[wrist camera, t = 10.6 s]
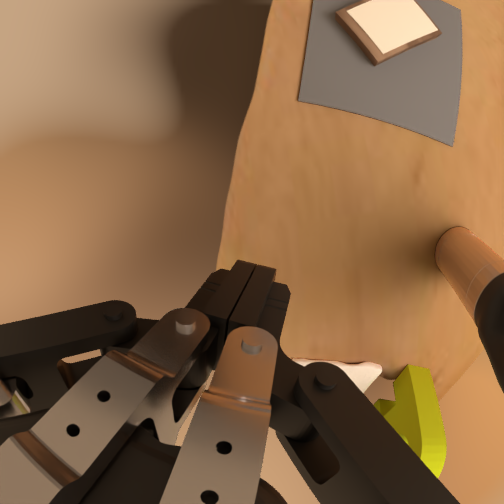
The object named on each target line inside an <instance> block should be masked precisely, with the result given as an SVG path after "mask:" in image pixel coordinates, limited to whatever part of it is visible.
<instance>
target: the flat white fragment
mask: <svg viewBox="0 0 504 504" xmlns="http://www.w3.org/2000/svg"><path fill="white" fill-rule="evenodd" d="M292 360H293V361H294V362H296V363H298V364H300V365H302V366H306V365H307V364H310V363H313V362H328V363H331V364H334V365H336V366H338V367H339V368H341V369H342V370H343V371H344V372H345V373H346V374H347V375H348V376H349V378H350V379H351V380H352V381H353V382H354V383H355V385H356V386H357V387H358V388H359V389H360V390H361V391H362V393H364V392H365V391H366V389H367V388H368V387H369V386H370V384H371V383H372V382H373V381H374V380H375V379H376V378H377V377H378V375H380V374H381V372H382V367H381V365H378V364H375V363H372V362H363V363H360V364H346V363H343V362H339V361H330V360H329V361H328V360H308V359H304V358H300V359H295V358H294V359H292Z"/></svg>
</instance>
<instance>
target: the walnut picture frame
mask: <svg viewBox="0 0 504 504" xmlns="http://www.w3.org/2000/svg"><path fill="white" fill-rule="evenodd" d="M335 20H336V21H337V22H338V23H339V24H340V25H341V26H342V27H343V29H344V30H345V31H346V32H347V33H348V34H349V35H350V37H351V38H352V39H353V40H354V41H355V42H356V44H357V45H358V46H359V47H360V49H361V50H362V51H363V52H364V54H365V55H366V56H367V57H368V59H369V60H370V61H371V63H372V64H373V65H374V67H375V66H377V65H379V64H381V63H383V62H385V61H387V60H389V59H391V58H393V57H395V56H397V55H399V54H401V53H403V52H406V51H408V50H410V49H412V48H414V47H417V46H419V45H421V44H424V43H426V42H428V41H431V40H433V39H436V38H437V37H438V36H440V35H441V34H442V32H441V31H440V29H439V28H438V27H437V25H436V24H435V23H434V22H433V20H432V19H431V18H430V17H429V15H428V14H427V13H426V12H425V11H424V9H423V8H422V7H421V6H420V5H419V4H418V2H417V1H416V0H361V1H359V2H357V3H354V4H352V5H350V6H347V7H345V8H343V9H341V10H339V11H337V12H335Z"/></svg>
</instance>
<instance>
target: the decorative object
mask: <svg viewBox="0 0 504 504" xmlns="http://www.w3.org/2000/svg"><path fill="white" fill-rule="evenodd" d="M393 386H394V393H395V400H396V401H390V400H384V399H378V400H377V402H376V403H375V404H374V406H375V408H376V409H377V410H378V411H379V412H380V413H381V415H382V416H383V417H384V418H385V419H386V420H387V421H388V423H389V424H390V425H391V426H392V427H393V428H394V429H395V431H396V432H397V433H398V434H399V435H400V436H401V437H402V439H403V440H404V441H405V442H406V443H407V444H408V445H409V447H410V448H411V449H412V450H413V451H414V452H415V453H416V455H417V456H418V457H419V458H420V459H421V460H422V461H423V462H424V464H425V465H426V466H427V467H428V468H429V469H430V470H431V472H432V473H433V474H434V475H435V476H436V477H437V478H438V477H439V475H440V473H441V471H442V468H443V465H444V462H445V457H446V437H445V431H444V426H443V421H442V417H441V413H440V408H439V404H438V400H437V396H436V392H435V388H434V384H433V381H432V377H431V374H430V370H429V369H427V368H423V367H418V366H413V365H409V364H408V365H407V366H406V367H405V369H404V370H403V371H402V372H401V374H400V375H399V376H398V377H397V379H396V380H395V381H394V382H393Z"/></svg>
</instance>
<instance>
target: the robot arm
mask: <svg viewBox="0 0 504 504" xmlns="http://www.w3.org/2000/svg"><path fill="white" fill-rule="evenodd" d="M435 260H436V264H437V266H438V267H439V269H440V270H441V272H442V273H443V275H444V276H445V277H446V279H447V280H448V282H449V283H450V285H451V286H452V288H453V289H454V291H455V292H456V294H457V295H458V297H459V298H460V300H461V301H462V303H463V304H464V306H465V307H466V309H467V311H468V312H469V314H470V315H471V317H472V319H473V320H474V322H475V324H476V326H477V327H478V333H479V337H480V339H481V341H482V344H483V346H484V348H485V350H486V352H487V355H488V357H489V359H490V362H491V365H492V367H493V370H494V372H495V375H496V377H497V380H498V383H499V385H500V387H501V388H502V391H503V393H504V260H503V259H502V258H501V257H500V256H499V255H498V254H496V253H495V252H494V251H493V250H492V249H491V248H490V247H489V246H487V245H486V244H485V243H484V242H483V241H481V240H480V239H479V238H478V237H477V236H476V235H474V234H473V233H472V232H470V231H469V230H468V229H466V228H464V227H454V228H452V229H450V230H448V231H447V232H445V234H444V235H443V236H442V237H441V238H440V240H439V242H438V244H437V247H436V250H435ZM276 270H277V269H274V268H270V267H266V266H262V265H257V264H254V263H250V262H246V261H241V260H237V261H236V263H235V264H234V266H233V267H232V269H231V270H230V271H229V270H225V269H220V270H218V271H216V272H214V273H211V275H210V276H209V277H208V279H207V280H206V282H204V284H203V285H202V286H201V288H200V289H199V290H198V291H197V293H196V294H195V295H194V296H193V298H192V299H191V300H190V302H189V303H188V305H187V306H186V307H185V308H178V309H174V310H171V311H169V312H168V313H166V314H165V315H164V316H163V317H162V318H161V319H160V320H151V319H142V318H136V311H135V309H134V307H133V306H132V305H130V304H129V303H127V302H124V301H118V300H114V301H113V300H112V301H106V302H102V303H98V304H93V305H89V306H85V307H80V308H76V309H71V310H67V311H63V312H58V313H53V314H49V315H45V316H40V317H35V318H30V319H26V320H22V321H16V322H12V323H7V324H2V325H0V504H287V502H286V501H285V500H284V498H283V497H282V496H281V495H280V493H279V492H277V490H275V489H274V488H273V487H272V486H271V485H270V484H268V483H267V482H266V481H264V480H263V479H261V478H260V473H261V468H262V462H263V456H264V451H265V445H266V440H267V434H268V428H269V427H271V428H273V429H274V430H276V435H277V437H278V439H279V441H280V442H281V444H282V446H283V447H284V449H285V451H286V452H287V454H288V455H289V457H290V459H291V460H292V462H293V463H294V465H295V466H296V468H297V470H298V471H299V473H300V474H301V476H302V477H303V479H304V480H305V482H306V483H307V485H308V486H309V488H310V489H311V491H312V492H313V494H314V495H315V497H316V498H317V499H318V501H319V502H320V504H460V503H459V502H458V501H457V500H456V499H455V497H454V496H453V495H452V494H451V493H450V492H449V491H448V490H447V489H446V488H445V486H444V485H443V484H442V483H441V482H440V481H439V480H438V478H437V477H436V476H435V475H434V474H433V473H432V472H431V470H430V469H429V468H428V467H427V466H426V465H425V464H424V462H423V461H422V460H421V459H420V458H419V457H418V456H417V455H416V453H415V452H414V451H413V450H412V449H411V448H410V447H409V445H408V444H407V443H406V442H405V441H404V440H403V439H402V437H401V436H400V435H399V434H398V433H397V432H396V431H395V429H394V428H393V427H392V426H391V425H390V424H389V423H388V421H387V420H386V419H385V418H384V417H383V416H382V415H381V413H380V412H379V411H378V410H377V409H376V408H375V406H374V405H373V404H372V403H371V402H370V401H369V400H368V399H367V397H366V396H365V395H364V394H363V393H362V391H361V390H360V389H359V388H358V387H357V386H356V385H355V383H354V382H353V381H352V380H351V379H350V378H349V376H348V375H347V374H346V373H345V372H344V371H343V370H342V369H341V368H339V367H338V366H336V365H334V364H331V363H328V362H313V363H310V364H307V365H306V366H302V365H300V364H298V363H296V362H294V361H293V360H291V359H290V358H289V357H287V356H286V355H285V354H284V352H283V351H282V349H281V347H280V336H281V332H282V328H283V324H284V320H285V316H286V311H287V307H288V303H289V299H290V294H291V293H290V291H289V289H288V286H287V285H285V284H281V283H277V282H274V280H275V276H276ZM97 349H100V352H101V355H102V356H98V357H95V358H91V359H88V360H83V361H79V362H75V363H66V362H64V361H62V360H61V359H62V358H65V357H69V356H74V355H78V354H82V353H86V352H89V351H93V350H97ZM212 370H215V372H214V375H213V378H212V381H211V383H210V386H209V389H208V390H204V389H205V387H206V382H207V379H208V377H209V375H210V373H211V371H212ZM202 392H203V393H202ZM201 394H202V395H201ZM200 396H201V397H200ZM199 397H200V400H199V403H198V405H197V407H196V410H195V413H194V416H193V418H192V421H191V423H190V426H189V428H188V431H187V434H186V436H185V439H184V442H183V444H182V447H180V446H175V443H176V440H177V435H178V432H179V430H180V428H181V426H182V425H183V423H184V421H185V420H186V418H187V417H188V415H189V413H190V412H191V410H192V408H193V407H194V405H195V404H196V402H197V400H198V399H199Z"/></svg>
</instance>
